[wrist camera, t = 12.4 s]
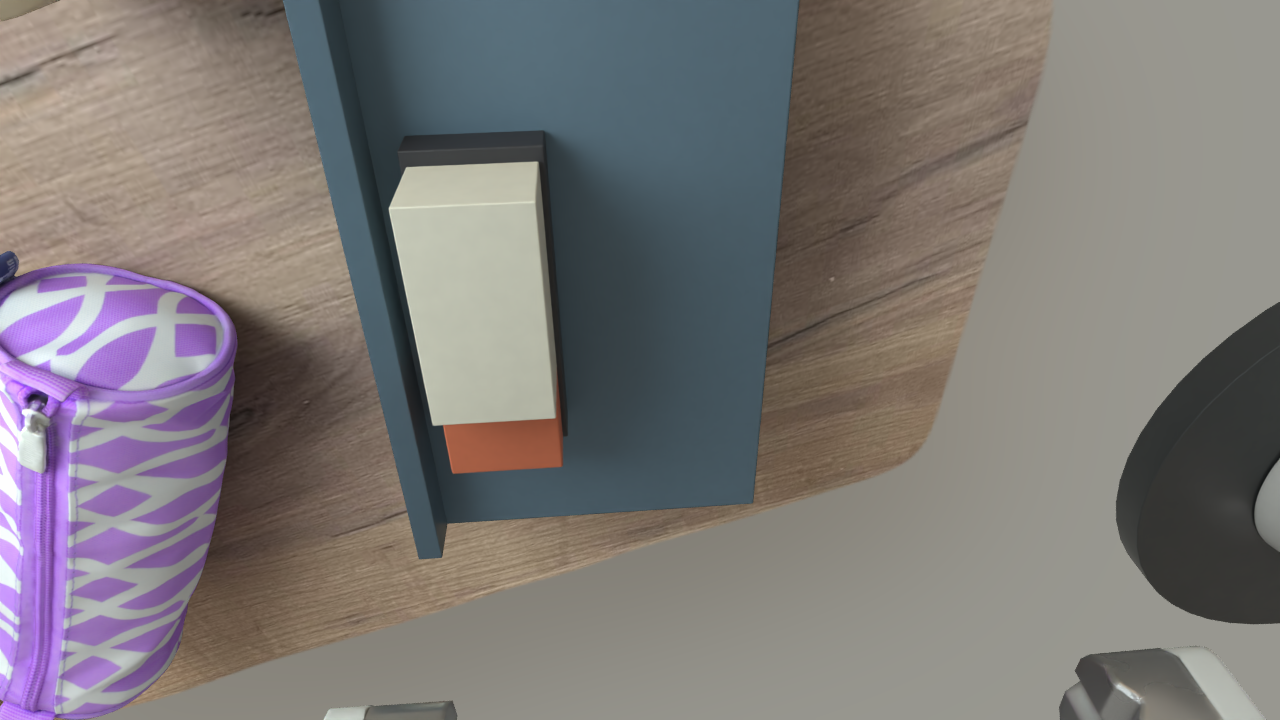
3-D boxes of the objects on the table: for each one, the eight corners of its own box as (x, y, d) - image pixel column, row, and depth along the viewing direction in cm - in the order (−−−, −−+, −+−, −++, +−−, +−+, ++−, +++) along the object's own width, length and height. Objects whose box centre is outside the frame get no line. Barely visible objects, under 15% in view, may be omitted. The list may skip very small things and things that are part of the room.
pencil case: (33, 212, 33) (-127, 337, 25) (272, 276, 36) (191, 408, 28) (42, 567, 44) (-68, 729, 37) (223, 597, 47) (155, 755, 39)
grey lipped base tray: (766, -104, 29) (826, -75, 22) (731, 422, 42) (762, 536, 36) (335, -95, 28) (267, -62, 21) (441, 440, 42) (418, 559, 35)
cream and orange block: (404, 135, 27) (377, 191, 23) (544, 129, 27) (541, 184, 23) (455, 420, 33) (442, 501, 30) (567, 413, 34) (568, 492, 30)
